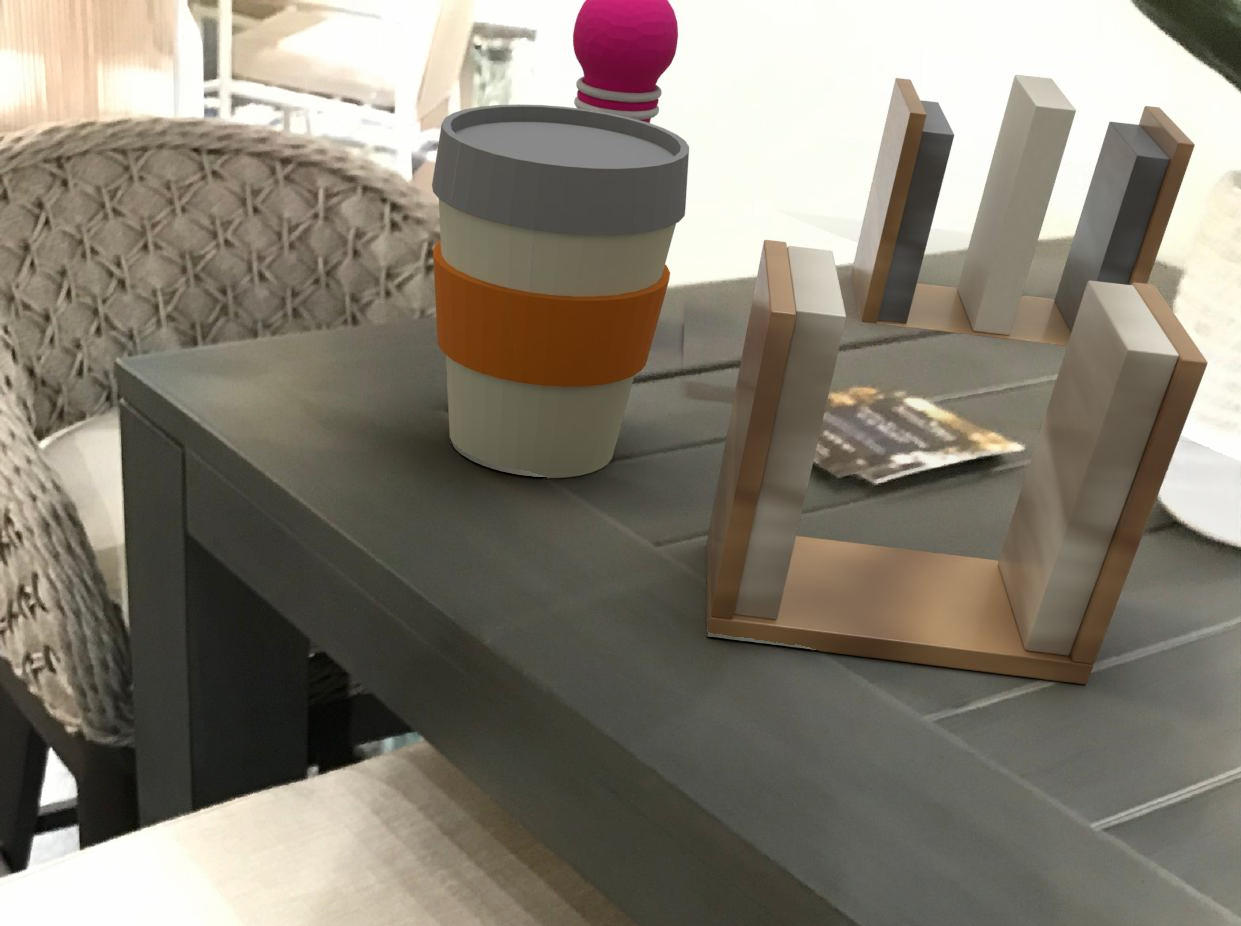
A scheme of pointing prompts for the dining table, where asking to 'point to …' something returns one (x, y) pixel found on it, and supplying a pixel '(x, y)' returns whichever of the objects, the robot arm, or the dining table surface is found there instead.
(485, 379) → the reusable coffee cup
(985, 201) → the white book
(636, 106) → the pepper mill
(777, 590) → the white rack
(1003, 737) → the dining table surface
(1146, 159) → the grey rack
